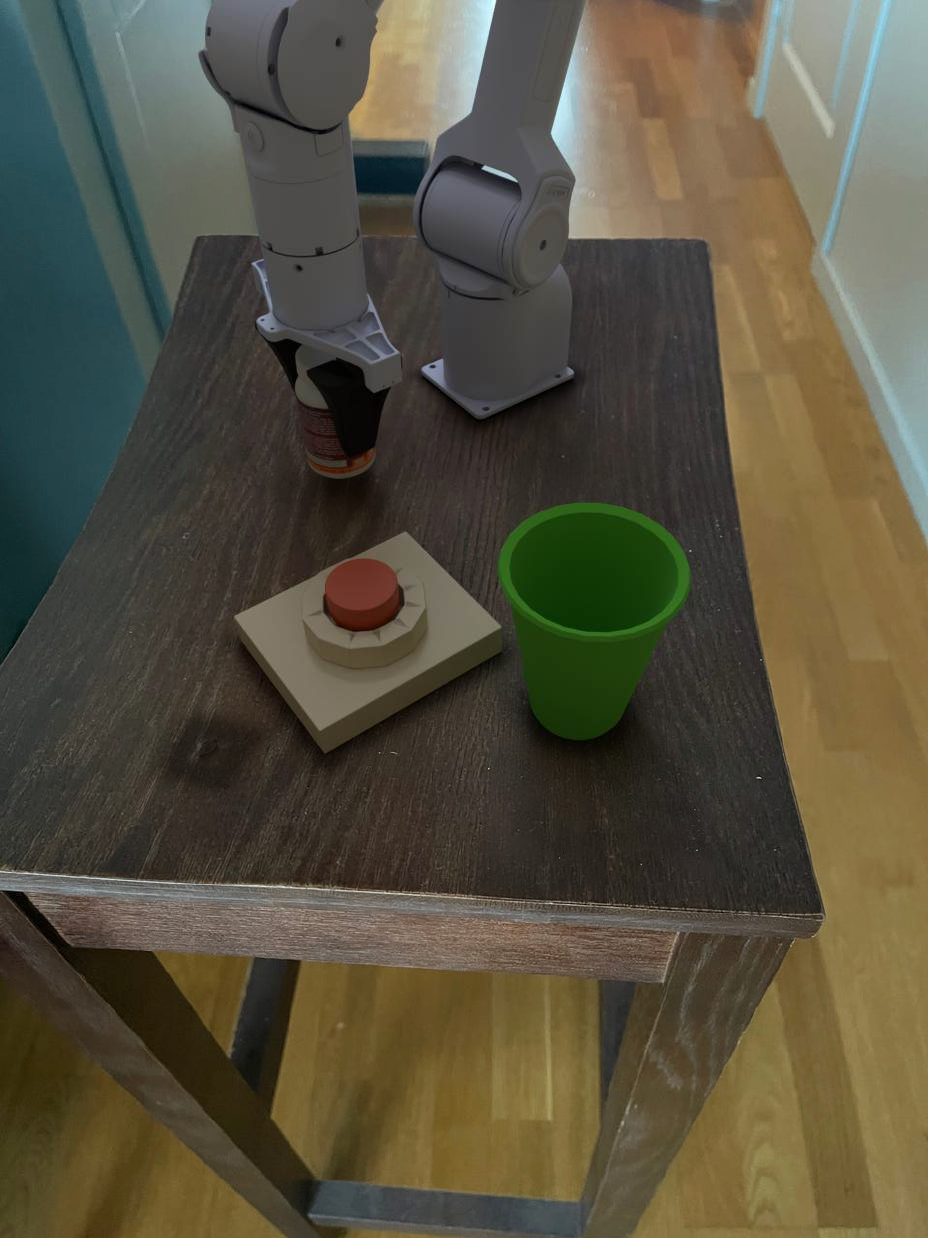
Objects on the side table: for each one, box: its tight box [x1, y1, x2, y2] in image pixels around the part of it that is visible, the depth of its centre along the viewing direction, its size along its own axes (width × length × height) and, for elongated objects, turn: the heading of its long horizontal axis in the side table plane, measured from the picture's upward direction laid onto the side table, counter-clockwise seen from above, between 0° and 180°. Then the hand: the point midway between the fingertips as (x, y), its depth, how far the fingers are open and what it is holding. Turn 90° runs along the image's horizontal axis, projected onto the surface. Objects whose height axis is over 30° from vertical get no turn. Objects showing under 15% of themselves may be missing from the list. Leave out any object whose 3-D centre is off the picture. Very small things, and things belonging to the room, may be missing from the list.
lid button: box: [325, 558, 400, 631], centre depth 51 cm, size 4×4×2 cm
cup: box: [496, 502, 692, 741], centre depth 47 cm, size 9×9×11 cm
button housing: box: [233, 530, 503, 754], centre depth 53 cm, size 12×10×4 cm
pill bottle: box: [294, 344, 376, 480], centre depth 60 cm, size 5×5×8 cm
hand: (339, 429), depth 62 cm, fingers closed on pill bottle, 5 cm apart
